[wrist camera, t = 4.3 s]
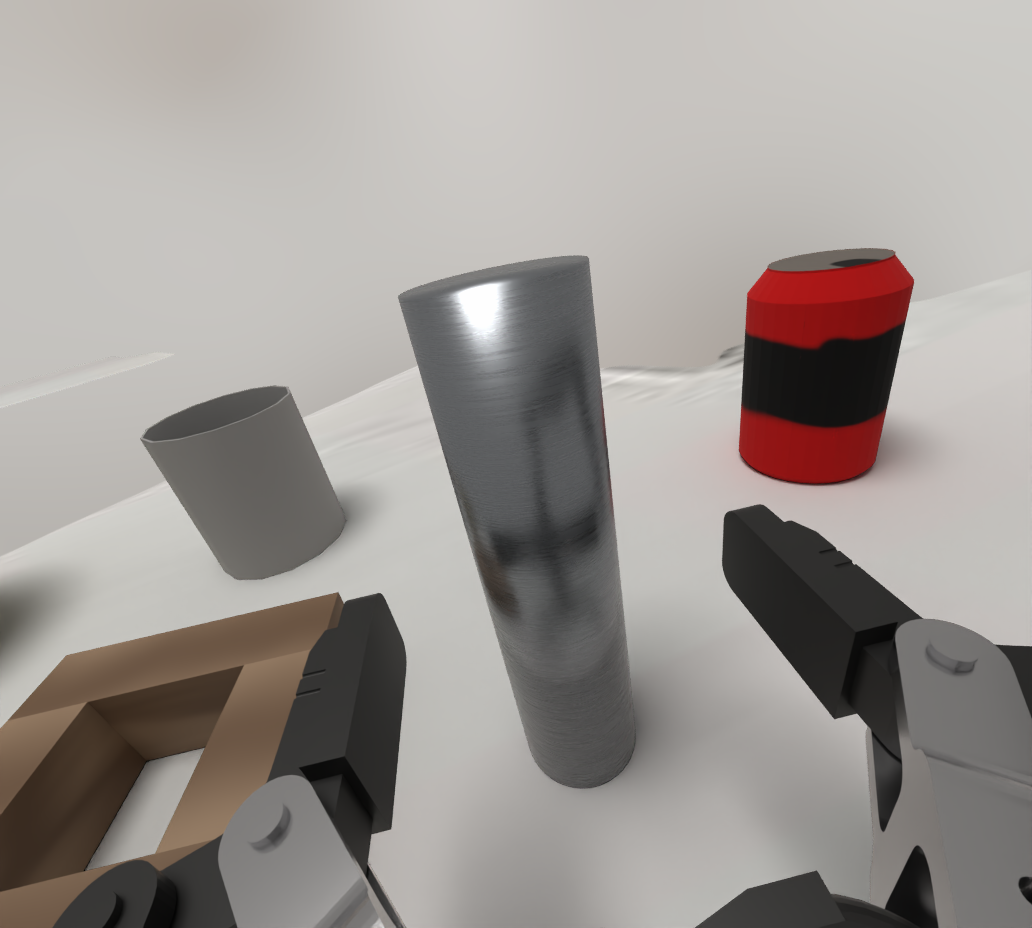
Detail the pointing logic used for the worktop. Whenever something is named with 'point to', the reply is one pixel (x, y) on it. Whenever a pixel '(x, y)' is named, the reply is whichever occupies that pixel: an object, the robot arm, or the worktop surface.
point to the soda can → (821, 362)
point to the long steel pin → (535, 496)
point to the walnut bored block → (144, 744)
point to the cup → (249, 480)
